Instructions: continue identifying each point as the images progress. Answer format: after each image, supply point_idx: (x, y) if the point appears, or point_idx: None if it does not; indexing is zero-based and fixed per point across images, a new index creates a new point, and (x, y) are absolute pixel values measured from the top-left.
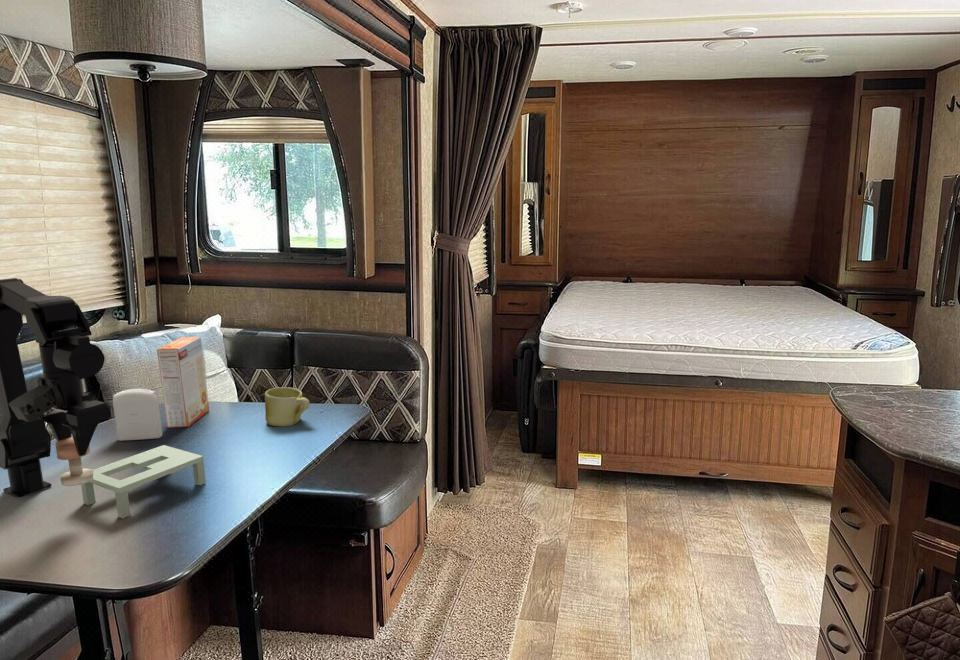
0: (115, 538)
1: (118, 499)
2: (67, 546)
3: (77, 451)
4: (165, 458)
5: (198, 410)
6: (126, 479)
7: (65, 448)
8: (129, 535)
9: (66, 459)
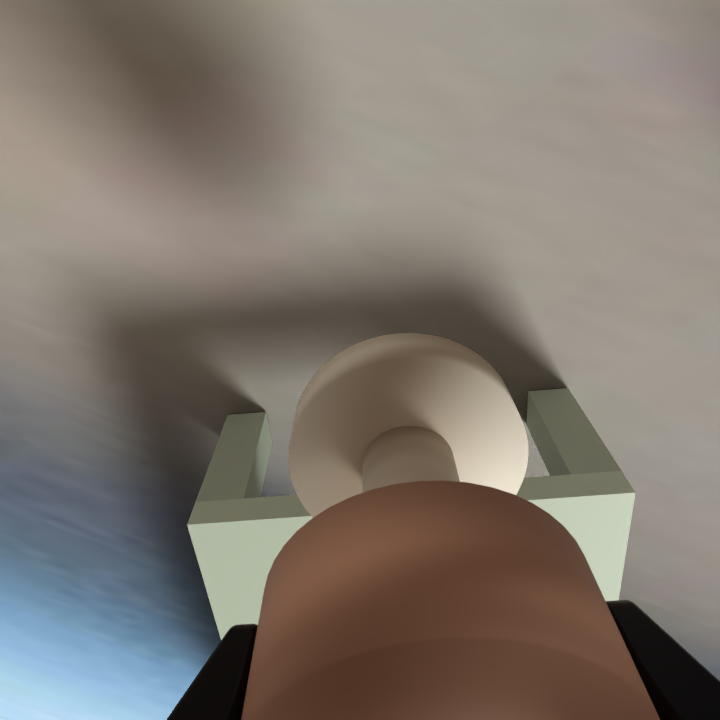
0: (29, 304)
1: (225, 473)
2: (110, 112)
3: (234, 668)
4: None
5: None
6: None
7: (299, 649)
8: (17, 355)
9: (316, 517)
